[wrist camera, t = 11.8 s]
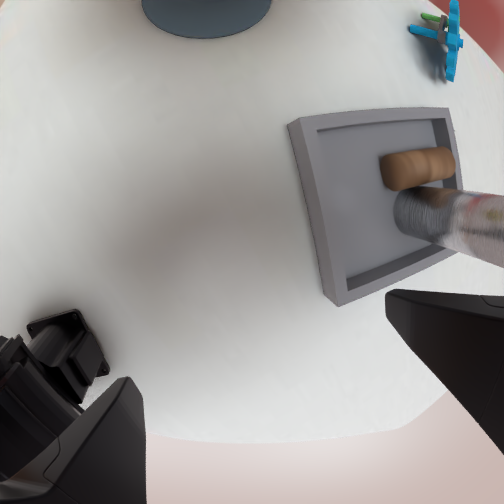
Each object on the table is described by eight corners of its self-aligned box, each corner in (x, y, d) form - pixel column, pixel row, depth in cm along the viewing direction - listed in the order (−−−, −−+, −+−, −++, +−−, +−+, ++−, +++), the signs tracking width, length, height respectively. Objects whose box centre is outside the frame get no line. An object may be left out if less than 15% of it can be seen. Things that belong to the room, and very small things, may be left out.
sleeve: (406, 245, 23) (523, 291, 11) (385, 206, 22) (517, 236, 10) (433, 214, 23) (546, 242, 11) (414, 175, 22) (539, 186, 10)
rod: (375, 165, 22) (391, 197, 21) (391, 147, 19) (409, 181, 18) (428, 156, 22) (442, 183, 22) (444, 140, 19) (460, 169, 19)
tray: (324, 294, 23) (338, 307, 21) (287, 124, 20) (299, 117, 17) (449, 242, 25) (465, 247, 23) (430, 111, 21) (448, 107, 19)
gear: (454, 102, 20) (463, 24, 11) (403, 84, 23) (396, 6, 14) (462, 53, 20) (464, -11, 12) (420, 39, 23) (414, -24, 14)
